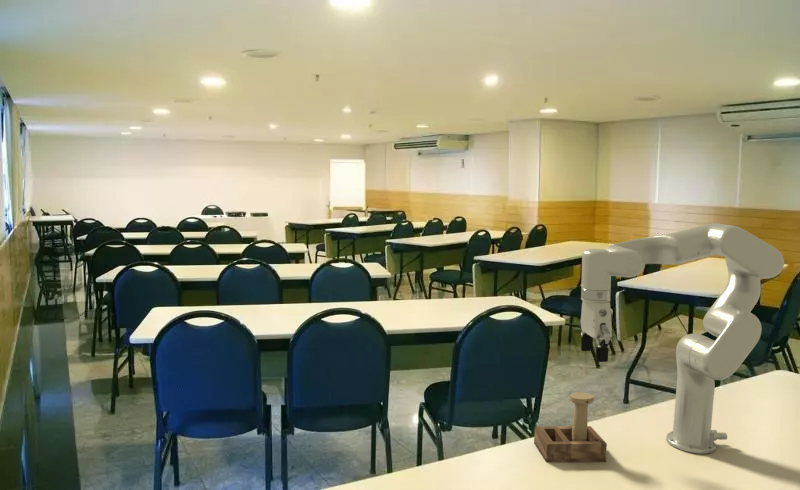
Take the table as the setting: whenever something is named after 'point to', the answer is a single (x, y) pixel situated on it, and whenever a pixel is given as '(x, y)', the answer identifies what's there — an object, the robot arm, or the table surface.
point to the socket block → (569, 445)
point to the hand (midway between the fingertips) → (594, 355)
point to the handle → (580, 415)
